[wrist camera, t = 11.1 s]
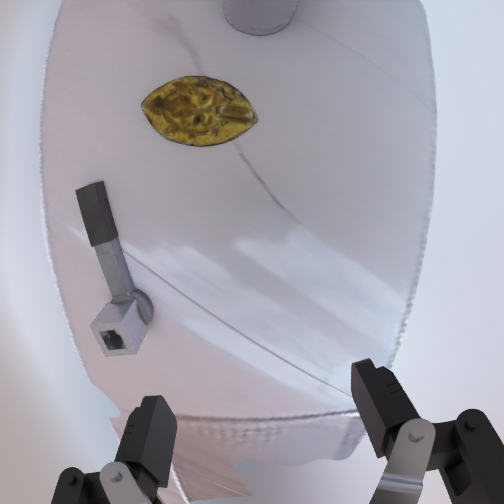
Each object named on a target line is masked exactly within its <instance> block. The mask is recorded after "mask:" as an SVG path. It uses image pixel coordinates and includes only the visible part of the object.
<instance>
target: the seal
mask: <svg viewBox="0 0 504 504" xmlns="http://www.w3.org/2000/svg"><path fill="white" fill-rule="evenodd" d="M141 107H142V109H143V112H144V114H145V116H146V117H147V119H148V120H149V122H150V124H151V125H152V126H153V128H154V129H155V130H156V131H157V132H158V133H159V134H160V135H162V136H163V137H164V138H166V139H168V140H170V141H173V142H177V143H180V144H184V145H190V146H199V147H202V146H213V145H218V144H223V143H226V142H228V141H231V140H233V139H235V138H237V137H239V136H240V135H242V134H243V133H245V132H246V131H247V130H249V129H250V128H251V127H252V126H253V125H254V124H255V123H256V121H257V116H256V113H255V111H254V109H253V107H252V105H251V104H250V102H249V100H248V99H247V98H246V97H245V96H244V95H243V94H242V93H241V92H240V91H239V90H238V89H236V88H235V87H233V86H232V85H230V84H229V83H227V82H224V81H219V80H217V79H212V78H209V77H206V76H184V77H181V78H178V79H175V80H172V81H170V82H168V83H166V84H164V85H163V86H161V87H159V88H157V89H156V90H154V91H153V92H152V93H150V94H149V95H148V96H147V97H146V98H145V100H144V101H143V102H142V103H141Z"/></svg>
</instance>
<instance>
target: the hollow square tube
mask: <svg viewBox="0 0 504 504" xmlns="http://www.w3.org/2000/svg"><path fill="white" fill-rule="evenodd" d="M90 327H91V329H92V331H93V333H94V335H95V337H96V339H97V341H98V343H99V345H100V347H101V349H102V351H103V352H104V354H105V356H119V355H132V354H137V352H138V350H139V348H140V345H141V343H142V341H143V339H144V337H145V335H146V333H147V330H148V327H147V325H146V322H145V320H144V318H143V315H142V313H141V310H140V308H139V305H138V303H137V300H136V299H132V300H126V301H120V302H114V303H108V304H106V305H105V307H104V308H103V309H102V310H101V312H100V313H99V314H98V316H97V317H96V318H95V319H94V321H93V322H92V323H91V325H90ZM116 329H118V331H119V333H120V334H116V332H115V330H116Z"/></svg>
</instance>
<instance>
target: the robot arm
mask: <svg viewBox="0 0 504 504" xmlns="http://www.w3.org/2000/svg"><path fill="white" fill-rule="evenodd" d="M298 2H299V0H223V7H224V14H225V17H226V19H227V21H228V22H229V23H230V24H231V25H232V26H233V27H234V28H236V29H237V30H239V31H242V32H244V33H248V34H252V35H268V34H273V33H275V32H278V31H280V30H282V29H283V28H285V27H286V26H287V25H288V24H289V22H290V20H291V18H292V16H293V14H294V11H295V9H296V7H297V4H298ZM351 392H352V396H353V400H354V402H355V404H356V407H357V409H358V412H359V414H360V416H361V419H362V421H363V424H364V426H365V428H366V431H367V433H368V436H369V438H370V441H371V443H372V445H373V448H374V451H375V453H376V456H377V458H381V457H383V456H386V459H387V461H388V463H387V465H386V468H385V470H384V473H383V475H382V477H381V480H380V482H379V484H378V486H377V488H376V490H375V493H374V494H373V497H372V499H371V501H370V503H369V504H417V502H418V500H419V497H420V495H421V492H422V488H423V484H422V481H423V478H424V475H425V472H426V471H430V470H436V469H439V472H440V474H441V476H442V479H443V481H444V484H445V486H446V489H447V491H448V494H449V497H450V499H451V502H452V504H504V445H503V443H502V441H501V439H500V438H499V436H498V434H497V433H496V431H495V430H494V428H493V426H492V425H491V423H490V421H489V420H488V418H487V417H486V415H485V414H484V413H483V412H482V411H480V410H478V409H468V410H465V411H463V412H462V413H461V414H460V415H459V416H458V418H457V419H456V420H453V421H448V422H443V423H431V422H429V421H428V420H425V419H422V418H421V417H420V416H419V414H418V413H417V411H416V409H415V408H414V406H413V404H412V403H411V401H410V399H409V398H408V396H407V394H406V393H405V391H404V390H403V388H402V386H401V385H400V383H399V382H398V380H397V379H396V377H395V375H394V373H393V372H392V371H390V370H389V369H387V368H386V367H384V366H382V367H379V368H375V366H374V364H373V362H372V361H371V359H369V358H368V359H365V360H362V361H358V362H355V363H352V366H351ZM176 431H177V421H176V418H175V416H174V414H173V412H172V411H171V409H170V407H169V406H168V404H167V402H166V401H165V399H164V398H163V396H161V395H158V396H145V397H144V398H143V400H142V403H141V406H140V407H136V408H135V409H134V411H133V412H132V413H131V414H130V415H129V418H128V421H127V424H126V427H125V430H124V434H123V436H122V439H121V442H120V445H119V448H118V451H117V454H116V458H115V460H114V462H111V463H108V464H107V465H106V466H104V467H103V468H102V470H101V472H96V473H87V474H84V473H83V472H82V471H81V470H79V469H78V468H75V467H70V468H67V469H65V470H64V471H63V472H62V473H61V474H60V477H59V480H58V483H57V486H56V489H55V493H54V496H53V499H52V502H51V504H165V503H164V502H163V501H162V499H161V498H160V496H159V495H158V494H157V490H158V487H164V488H167V486H168V479H169V473H170V466H171V460H172V454H173V448H174V443H175V437H176Z"/></svg>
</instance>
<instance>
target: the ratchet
mask: <svg viewBox="0 0 504 504" xmlns="http://www.w3.org/2000/svg"><path fill="white" fill-rule="evenodd" d="M75 191H76V195H77V199H78V203H79V207H80V210H81V214H82V218H83V221H84V224H85V228H86V231H87V234H88V238H89V241H90V244H91V247H93V246H94V247H95V250H96V253H97V256H98V259H99V262H100V265H101V268H102V270H103V273H104V276H105V278H106V281H107V284H108V286H109V289H110V291H111V294H112V296H113V300H112V301H111V302H110V303H114V302H120V301H126V300H132V299H136V300H137V303H138V305H139V308H140V310H141V313H142V315H143V318H144V320H145V322H146V325H148V323H149V321H150V319H151V317H152V315H153V306H152V303H151V301H150V299H149V298H148V296H147V295H146V294H145V293H143V292H142V291H140V290H138V289H135V287H134V285H133V282H132V279H131V277H130V274H129V271H128V268H127V265H126V262H125V259H124V256H123V253H122V250H121V247H120V244H119V241H118V238H117V237H118V234H117V230H116V227H115V224H114V220H113V217H112V213H111V209H110V206H109V202H108V198H107V194H106V190H105V186H104V182H103V181H101V182H97V183H93V184H90V185H88V186H85V187H83V188H80V189H77V190H75ZM115 332H116V334H120V333H119V331H118V329H116V330H115Z"/></svg>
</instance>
